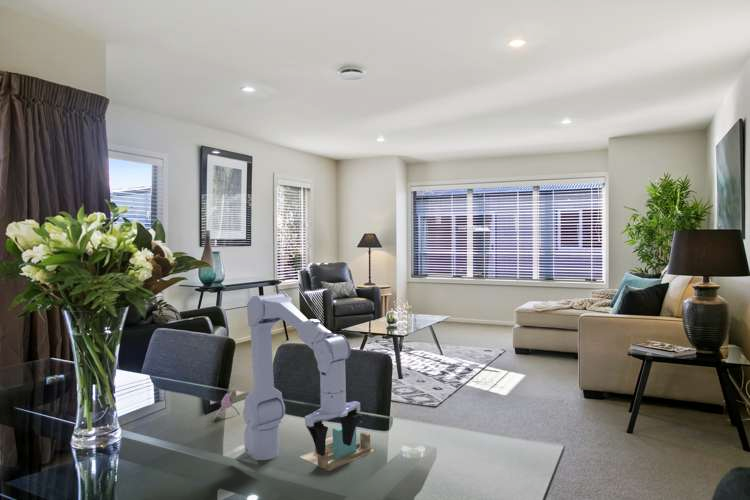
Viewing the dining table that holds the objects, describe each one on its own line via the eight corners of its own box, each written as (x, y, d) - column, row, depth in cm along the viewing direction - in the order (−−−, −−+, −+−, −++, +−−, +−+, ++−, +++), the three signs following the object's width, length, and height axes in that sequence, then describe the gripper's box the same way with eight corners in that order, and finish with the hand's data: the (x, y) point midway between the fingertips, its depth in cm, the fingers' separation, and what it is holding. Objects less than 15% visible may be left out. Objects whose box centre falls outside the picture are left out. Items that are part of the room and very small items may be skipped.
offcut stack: (314, 452, 137) (314, 443, 137) (333, 444, 142) (333, 435, 142) (323, 456, 135) (323, 447, 135) (342, 448, 139) (342, 439, 139)
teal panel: (333, 459, 133) (332, 428, 133) (350, 452, 137) (349, 422, 137) (339, 462, 131) (338, 430, 131) (356, 454, 135) (355, 424, 135)
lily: (229, 410, 179) (214, 388, 177) (256, 400, 175) (241, 377, 173) (213, 433, 168) (197, 410, 165) (242, 422, 164) (226, 399, 162)
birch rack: (299, 461, 135) (298, 441, 135) (344, 443, 146) (344, 424, 146) (329, 475, 126) (328, 454, 126) (374, 455, 138) (374, 435, 138)
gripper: (318, 401, 109) (319, 464, 109) (368, 386, 119) (369, 444, 119) (298, 394, 114) (300, 454, 115) (348, 380, 124) (349, 436, 125)
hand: (334, 449), depth 117 cm, fingers open, 7 cm apart
